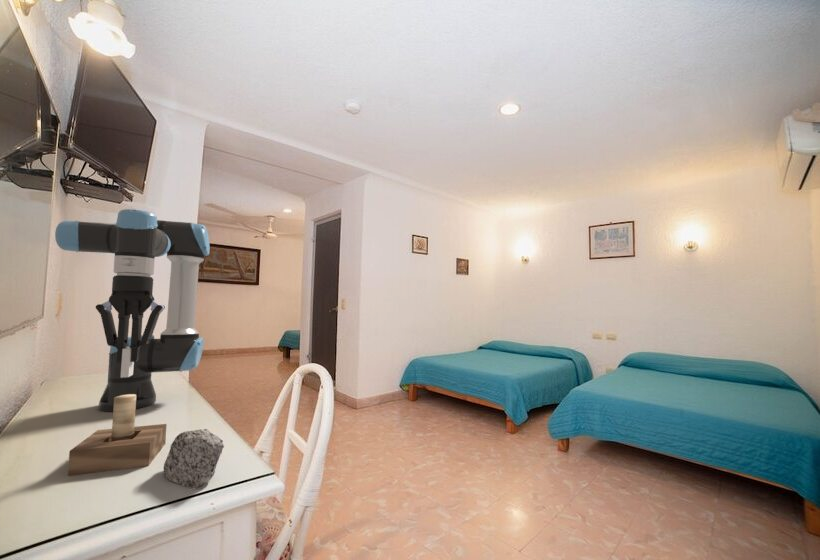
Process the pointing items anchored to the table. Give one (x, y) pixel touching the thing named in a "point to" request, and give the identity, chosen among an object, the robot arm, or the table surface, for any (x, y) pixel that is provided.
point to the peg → (123, 417)
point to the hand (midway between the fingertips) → (126, 376)
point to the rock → (193, 458)
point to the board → (117, 450)
